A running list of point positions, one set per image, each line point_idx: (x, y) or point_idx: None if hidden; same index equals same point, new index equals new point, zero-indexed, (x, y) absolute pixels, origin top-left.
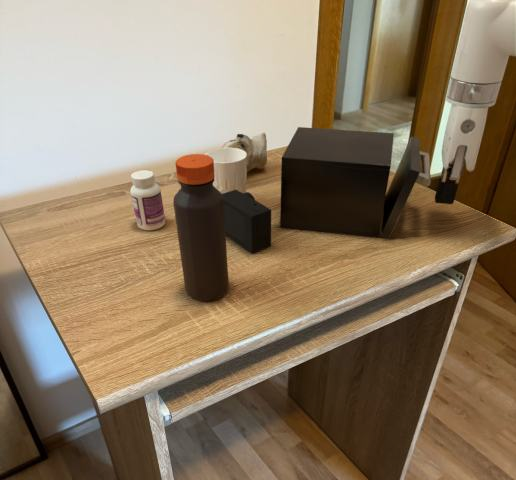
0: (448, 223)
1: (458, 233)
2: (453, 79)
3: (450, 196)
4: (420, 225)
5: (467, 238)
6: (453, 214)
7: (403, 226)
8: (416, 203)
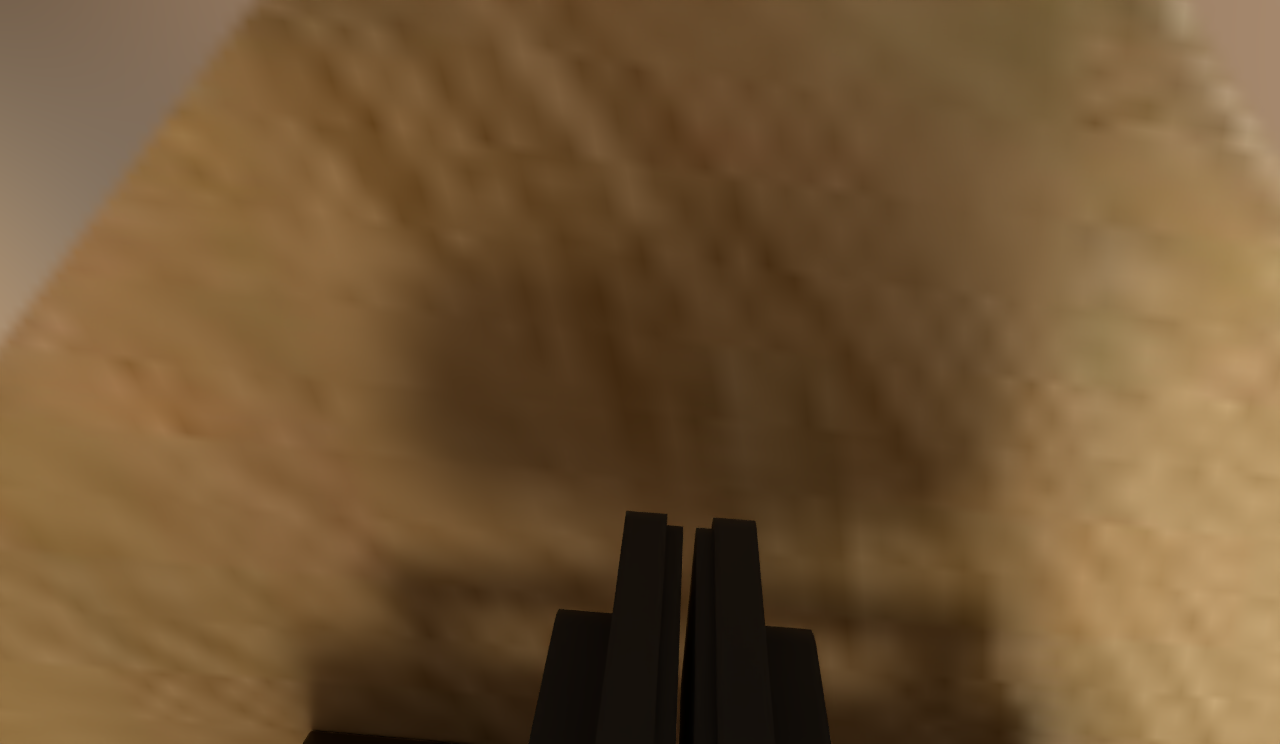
0: (675, 332)
1: (911, 256)
2: None
3: (819, 676)
4: None
5: (1037, 171)
6: (433, 252)
7: None
8: (291, 566)
